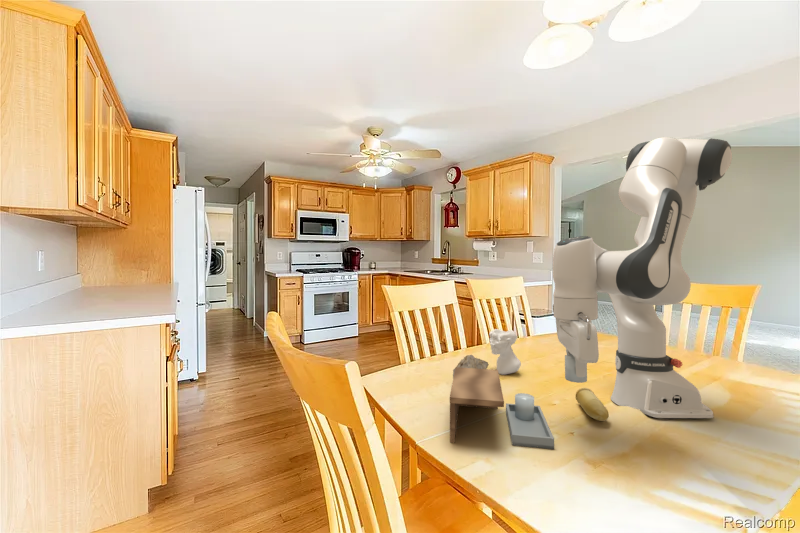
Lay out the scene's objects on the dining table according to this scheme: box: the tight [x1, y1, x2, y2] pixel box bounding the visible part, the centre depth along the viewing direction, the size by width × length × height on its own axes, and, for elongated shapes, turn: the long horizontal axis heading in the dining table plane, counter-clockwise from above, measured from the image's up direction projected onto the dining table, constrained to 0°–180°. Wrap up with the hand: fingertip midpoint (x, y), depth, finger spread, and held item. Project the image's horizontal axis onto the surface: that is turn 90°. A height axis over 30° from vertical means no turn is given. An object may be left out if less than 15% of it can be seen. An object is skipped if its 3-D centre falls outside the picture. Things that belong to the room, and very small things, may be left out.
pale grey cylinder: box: [514, 392, 535, 421], centre depth 88 cm, size 4×4×5 cm
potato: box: [575, 387, 610, 422], centre depth 90 cm, size 14×5×5 cm, turn 166°
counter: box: [449, 366, 505, 444], centre depth 86 cm, size 11×22×10 cm, turn 168°
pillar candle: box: [564, 354, 588, 383], centre depth 80 cm, size 4×4×5 cm
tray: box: [505, 403, 555, 450], centre depth 83 cm, size 8×17×2 cm, turn 168°
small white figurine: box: [489, 328, 522, 376], centre depth 123 cm, size 10×11×15 cm
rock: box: [452, 354, 490, 379], centre depth 111 cm, size 12×7×10 cm, turn 115°
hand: (576, 371), depth 80 cm, fingers closed on pillar candle, 4 cm apart
